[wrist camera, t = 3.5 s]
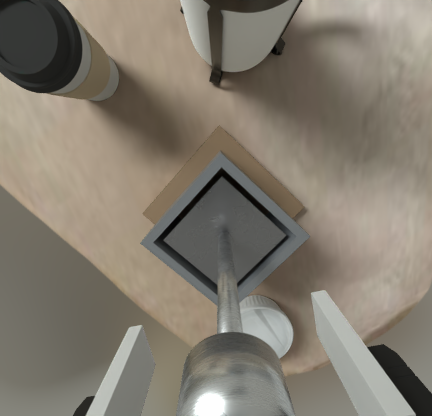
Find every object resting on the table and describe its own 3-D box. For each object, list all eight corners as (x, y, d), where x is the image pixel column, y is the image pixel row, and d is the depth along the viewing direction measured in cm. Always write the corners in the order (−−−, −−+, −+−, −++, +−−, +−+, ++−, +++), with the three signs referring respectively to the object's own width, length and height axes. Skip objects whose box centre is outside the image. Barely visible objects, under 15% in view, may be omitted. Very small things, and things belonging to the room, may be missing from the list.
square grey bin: (219, 126, 39) (219, 115, 25) (301, 204, 42) (343, 234, 28) (144, 211, 42) (108, 244, 28) (225, 279, 45) (228, 340, 31)
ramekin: (296, 302, 46) (306, 321, 41) (269, 350, 49) (275, 375, 44) (238, 279, 45) (241, 297, 40) (214, 330, 48) (213, 353, 43)
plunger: (221, 175, 28) (230, 267, 7) (284, 232, 29) (449, 453, 8) (164, 237, 30) (33, 462, 9) (226, 289, 31) (242, 588, 10)
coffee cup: (136, 95, 38) (85, 65, 24) (82, 118, 39) (0, 102, 25) (109, 30, 36) (35, -46, 22) (52, 56, 37) (-55, -1, 23)
